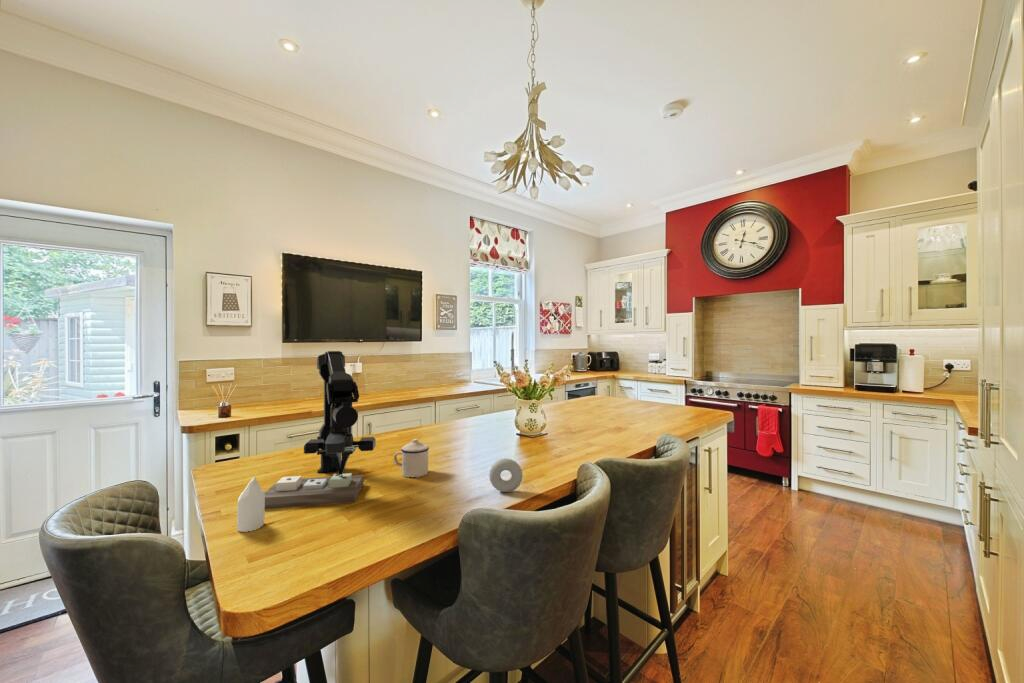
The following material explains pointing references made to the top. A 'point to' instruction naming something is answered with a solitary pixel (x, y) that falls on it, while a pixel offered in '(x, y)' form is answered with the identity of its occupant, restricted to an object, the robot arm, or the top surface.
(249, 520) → the white pointed wedge
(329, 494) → the grey tray with tiles
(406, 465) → the teacup with lid
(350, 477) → the tile three
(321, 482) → the tile two
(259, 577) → the top surface
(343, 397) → the robot arm
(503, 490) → the donut
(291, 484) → the tile one
